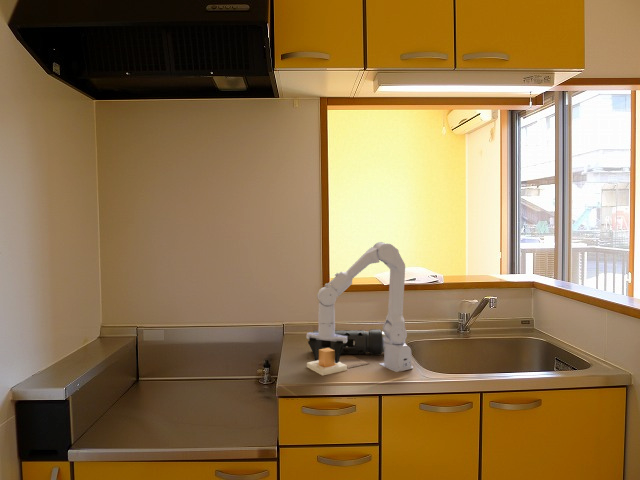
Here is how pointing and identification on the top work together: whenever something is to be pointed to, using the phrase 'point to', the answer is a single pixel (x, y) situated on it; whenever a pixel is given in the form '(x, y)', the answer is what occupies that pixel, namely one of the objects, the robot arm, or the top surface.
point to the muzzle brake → (358, 341)
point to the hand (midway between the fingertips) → (326, 361)
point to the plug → (326, 357)
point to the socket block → (326, 368)
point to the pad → (352, 361)
